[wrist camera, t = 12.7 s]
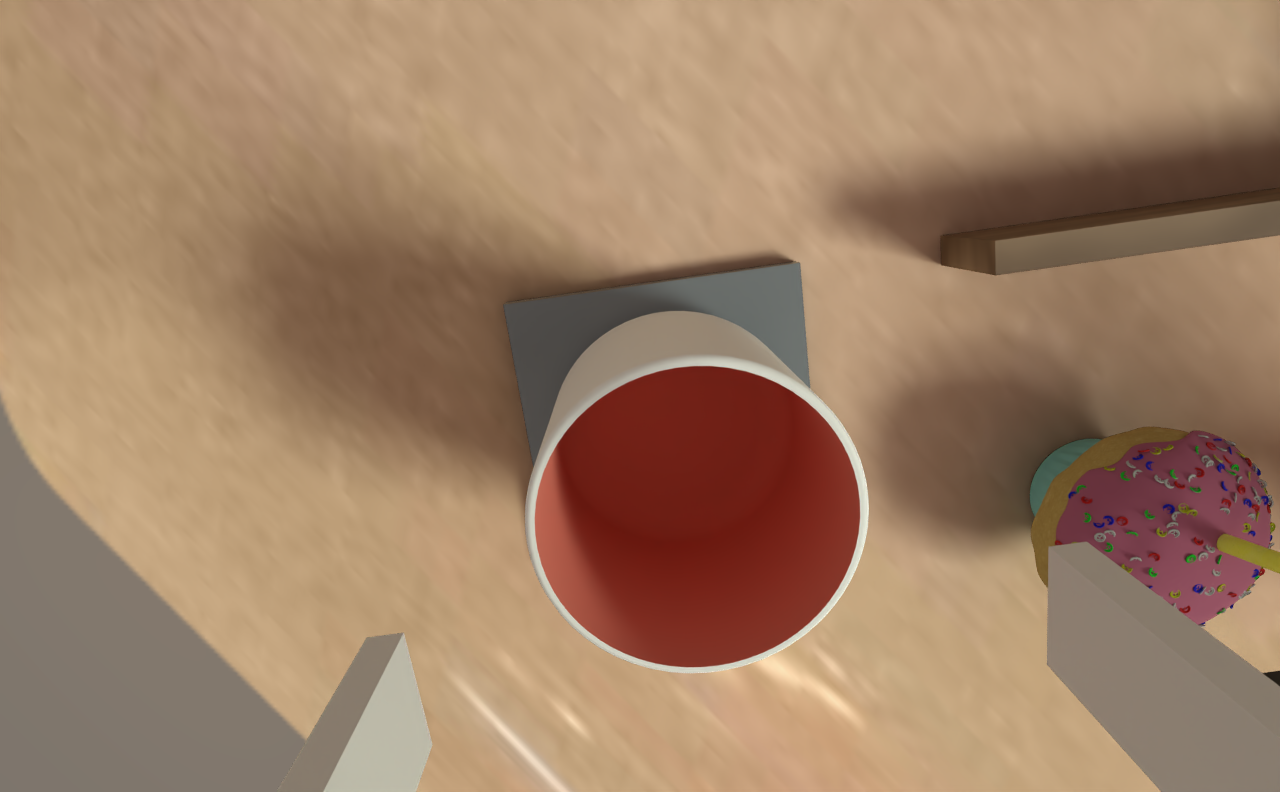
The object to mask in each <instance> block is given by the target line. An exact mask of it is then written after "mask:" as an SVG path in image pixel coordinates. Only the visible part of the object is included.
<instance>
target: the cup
mask: <svg viewBox="0 0 1280 792" xmlns="http://www.w3.org/2000/svg"><path fill="white" fill-rule="evenodd" d="M868 516H869V502H868V491H867V484H866V479H865V474H864V470H863V467H862V463H861V460H860V457H859V455H858V452H857V450H856V448H855V446H854V444H853V442H852V440H851V438H850V436H849V434H848V433H847V431H846V429H845V428H844V426H843V425H842V423H841V422H840V421H839V419H838V418H837V417H836V415H835V414H834V413H833V412H832V411H831V409H830V408H829V407H828V406H827V405H826V404H825V403H824V402H823V401H822V400H821V399H820V398H819V397H818V396H817V395H816V394H815V393H814V392H813V391H812V390H811V389H810V388H809V387H808V386H807V385H806V384H805V383H804V382H803V381H802V380H801V379H800V378H798V377H797V376H796V375H795V374H794V373H793V372H792V371H791V370H790V369H789V368H788V367H787V366H786V365H785V364H784V363H783V362H782V361H781V360H780V359H779V358H778V357H777V356H776V355H775V354H774V353H773V352H772V351H771V350H770V349H769V348H768V347H767V346H766V345H764V344H763V343H762V342H761V341H760V340H759V339H758V338H756V337H755V336H754V335H752V334H751V333H750V332H748V331H747V330H745V329H743V328H742V327H740V326H738V325H736V324H734V323H732V322H730V321H727V320H725V319H722V318H719V317H716V316H713V315H709V314H704V313H699V312H690V311H665V312H658V313H652V314H648V315H644V316H640V317H637V318H635V319H632V320H629V321H627V322H625V323H623V324H621V325H619V326H617V327H615V328H613V329H611V330H610V331H608V332H607V333H605V334H604V335H602V336H601V337H600V338H599V339H597V340H596V341H595V342H594V343H592V344H591V345H590V346H589V347H588V348H587V349H586V350H585V351H584V352H583V353H582V355H581V356H580V357H579V358H578V359H577V361H576V362H575V363H574V365H573V366H572V368H571V369H570V371H569V373H568V374H567V376H566V378H565V380H564V382H563V384H562V386H561V389H560V391H559V394H558V397H557V400H556V403H555V406H554V409H553V412H552V415H551V418H550V421H549V424H548V427H547V430H546V433H545V436H544V438H543V441H542V444H541V447H540V450H539V453H538V456H537V459H536V462H535V465H534V468H533V471H532V474H531V478H530V481H529V486H528V490H527V497H526V505H525V531H526V539H527V546H528V550H529V554H530V558H531V561H532V564H533V567H534V570H535V573H536V575H537V577H538V580H539V582H540V584H541V586H542V588H543V590H544V591H545V593H546V595H547V596H548V598H549V599H550V601H551V602H552V603H553V605H554V606H555V607H556V609H557V610H558V612H559V613H560V614H561V616H562V617H563V618H564V619H565V620H566V621H567V622H568V623H569V624H570V625H571V626H572V627H573V628H574V629H575V630H576V631H578V632H579V633H580V634H581V635H582V636H584V637H585V638H586V639H587V640H589V641H590V642H592V643H593V644H595V645H596V646H598V647H599V648H601V649H603V650H605V651H606V652H608V653H610V654H612V655H614V656H616V657H618V658H621V659H623V660H625V661H628V662H630V663H633V664H636V665H640V666H643V667H647V668H650V669H656V670H661V671H667V672H678V673H708V672H716V671H723V670H729V669H733V668H737V667H741V666H745V665H748V664H751V663H754V662H757V661H759V660H762V659H764V658H766V657H769V656H771V655H773V654H775V653H777V652H779V651H781V650H782V649H784V648H786V647H788V646H789V645H791V644H793V643H794V642H795V641H797V640H798V639H800V638H801V637H803V636H804V635H805V634H806V633H808V632H809V631H810V630H811V629H812V628H813V627H815V626H816V625H817V624H818V623H819V622H820V621H821V620H822V619H823V618H824V617H825V616H826V615H827V614H828V613H829V611H830V610H831V609H832V608H833V607H834V605H835V604H836V603H837V601H838V600H839V598H840V597H841V596H842V594H843V593H844V591H845V589H846V588H847V586H848V584H849V583H850V581H851V579H852V577H853V575H854V572H855V570H856V568H857V566H858V563H859V560H860V558H861V555H862V551H863V548H864V544H865V539H866V534H867V528H868Z"/></svg>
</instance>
